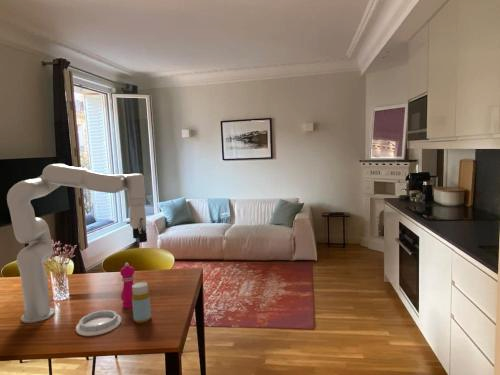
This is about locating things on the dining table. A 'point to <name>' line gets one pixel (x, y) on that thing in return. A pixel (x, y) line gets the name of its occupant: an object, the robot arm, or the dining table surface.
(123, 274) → the pepper mill
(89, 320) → the collar base
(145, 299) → the bottle
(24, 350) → the dining table surface
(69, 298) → the dining table surface
